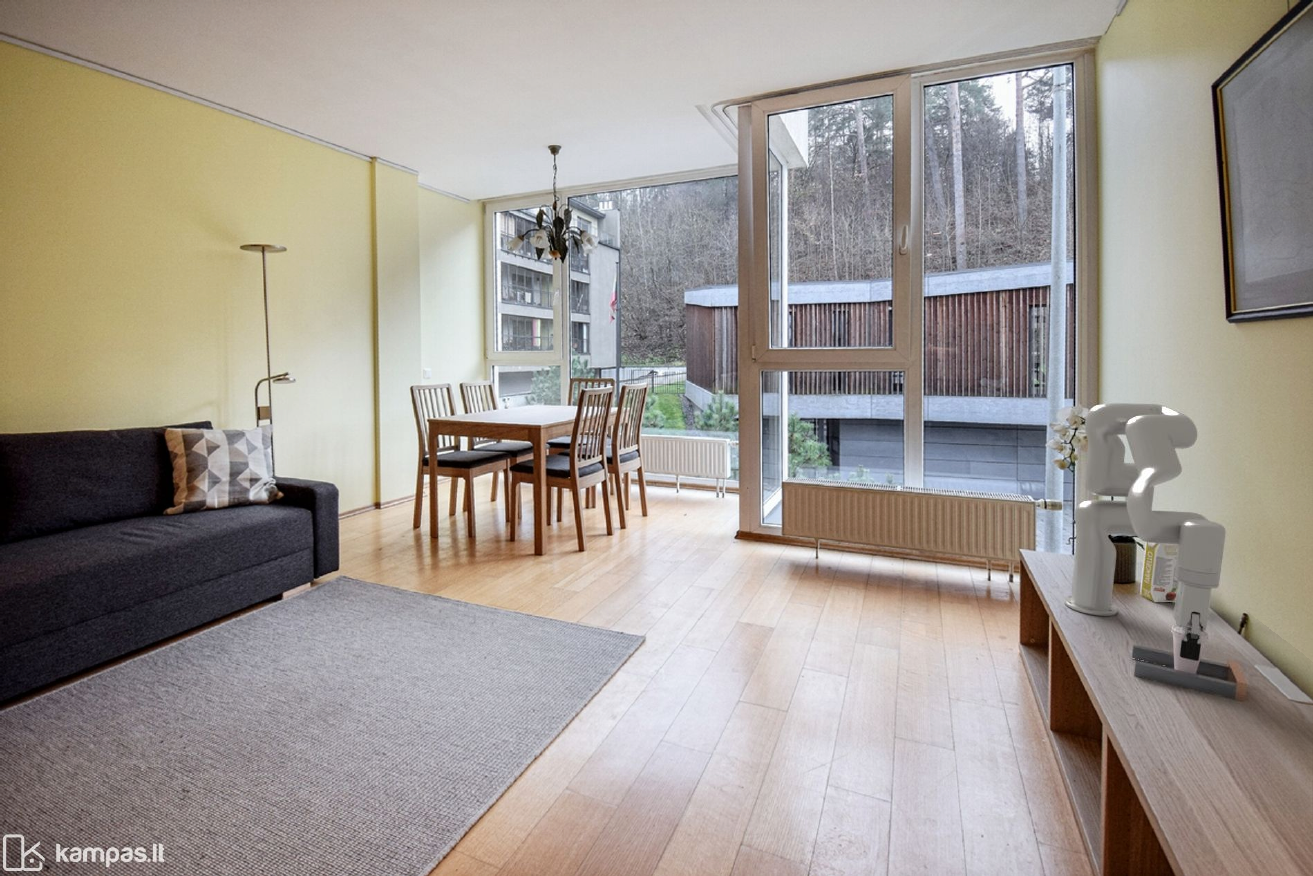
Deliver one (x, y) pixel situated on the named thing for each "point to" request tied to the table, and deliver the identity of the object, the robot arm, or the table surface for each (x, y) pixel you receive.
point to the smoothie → (1178, 636)
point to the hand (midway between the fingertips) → (1187, 652)
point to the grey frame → (1230, 672)
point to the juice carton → (1159, 572)
